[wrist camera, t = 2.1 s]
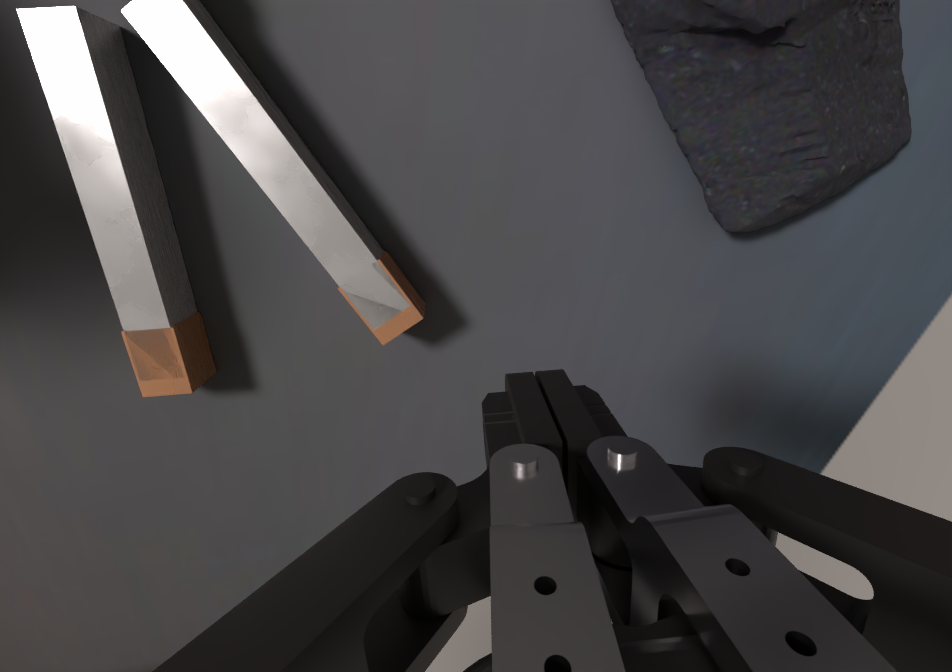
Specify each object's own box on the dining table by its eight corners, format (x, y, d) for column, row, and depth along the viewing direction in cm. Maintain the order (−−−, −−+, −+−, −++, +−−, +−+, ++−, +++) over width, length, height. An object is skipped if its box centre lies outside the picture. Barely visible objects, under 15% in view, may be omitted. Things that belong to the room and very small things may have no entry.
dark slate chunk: (675, 260, 29) (716, 275, 25) (544, -150, 22) (568, -231, 18) (914, 150, 28) (1003, 145, 24) (854, -324, 21) (964, -459, 17)
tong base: (39, -57, 22) (-55, -109, 18) (174, -63, 22) (111, -117, 18) (172, 375, 30) (127, 408, 25) (272, 367, 30) (243, 399, 26)
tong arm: (158, 32, 23) (118, 13, 20) (200, -4, 23) (165, -28, 20) (389, 328, 29) (383, 345, 26) (426, 304, 29) (423, 318, 26)
